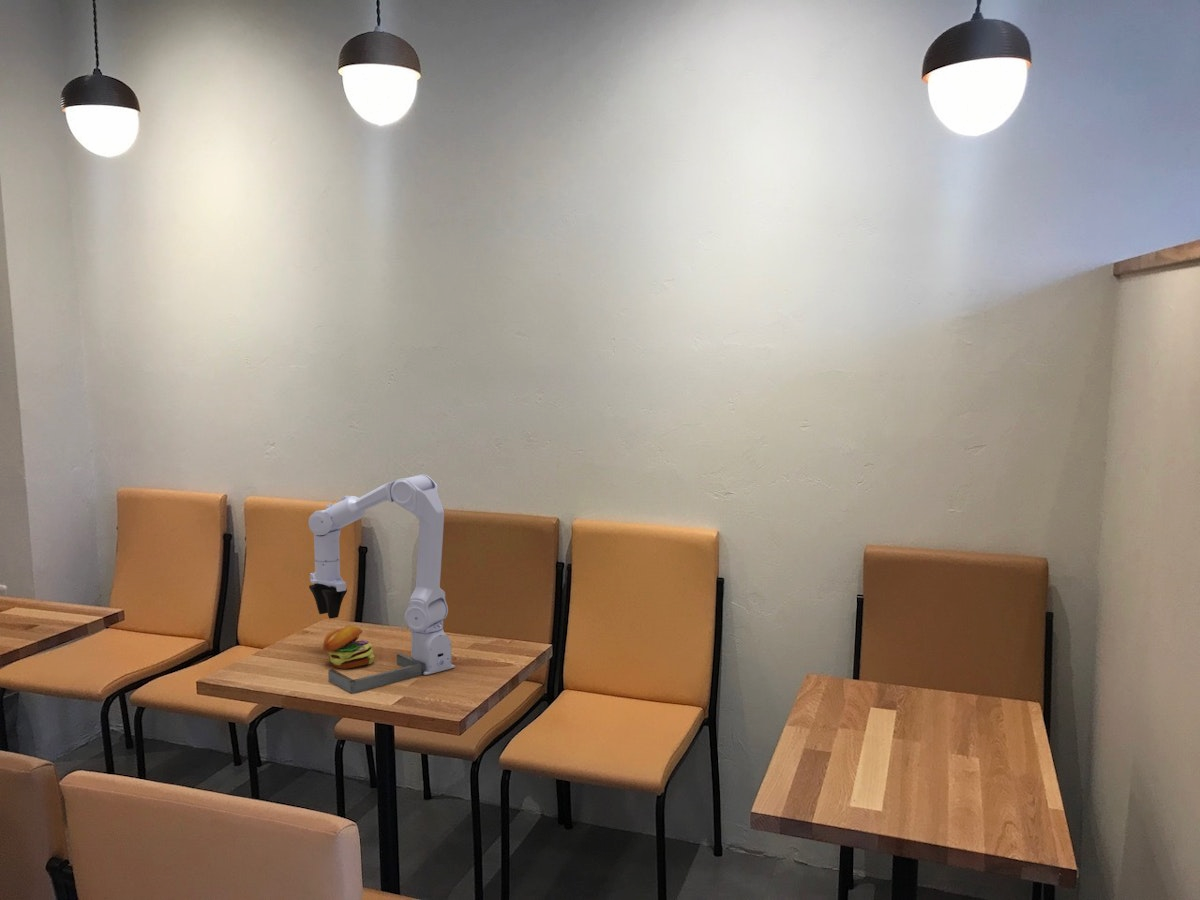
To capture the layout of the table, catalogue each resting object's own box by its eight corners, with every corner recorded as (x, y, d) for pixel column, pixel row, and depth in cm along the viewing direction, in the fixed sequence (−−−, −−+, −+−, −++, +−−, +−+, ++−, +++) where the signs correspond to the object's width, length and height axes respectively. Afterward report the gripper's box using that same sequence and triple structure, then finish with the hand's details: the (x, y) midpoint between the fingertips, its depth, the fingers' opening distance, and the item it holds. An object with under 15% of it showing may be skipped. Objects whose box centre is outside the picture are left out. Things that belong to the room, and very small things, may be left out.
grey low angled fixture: (425, 674, 210) (424, 663, 209) (351, 693, 198) (351, 682, 197) (400, 663, 217) (400, 652, 217) (328, 681, 205) (328, 669, 205)
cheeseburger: (369, 670, 212) (358, 628, 211) (324, 680, 213) (312, 639, 212) (380, 655, 222) (369, 615, 221) (337, 665, 223) (326, 626, 222)
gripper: (297, 557, 225) (299, 612, 226) (325, 567, 214) (327, 625, 215) (325, 553, 229) (326, 607, 231) (353, 562, 219) (355, 619, 220)
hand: (328, 615), depth 223 cm, fingers open, 4 cm apart
